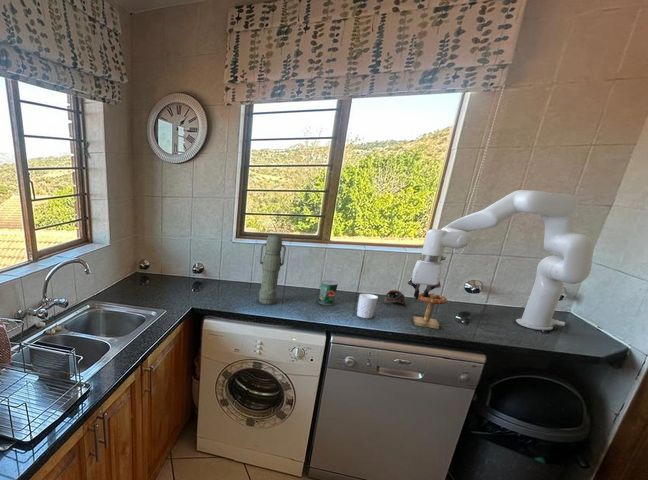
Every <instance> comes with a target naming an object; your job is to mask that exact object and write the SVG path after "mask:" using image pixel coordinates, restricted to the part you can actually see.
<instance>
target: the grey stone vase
mask: <svg viewBox="0 0 648 480" xmlns="http://www.w3.org/2000/svg"><path fill="white" fill-rule="evenodd" d="M264 246H265V253H264V256H263V251H264ZM282 248H283V253H281V252H282ZM260 251H261V252H260V258H259V264H260V265H262V267H261V268H262V276H261V285H260V288H259V292H258V303H260V304H263V305H276V304H277V303H276V302H277V301H276V300H277V297H278V289H277V288H278V281H279V280H278V279H279V272H280V271H281V267H282V266H284V264H285V257H286V251H287V247H286V245H285V244H283V238H282V235H281V234H278V233H271V234H268V236H267V238H266V243H263V244H262V245H261V250H260ZM281 255H282V257H281Z"/></svg>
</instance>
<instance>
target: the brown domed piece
mask: <svg viewBox="0 0 648 480" xmlns="http://www.w3.org/2000/svg"><path fill="white" fill-rule="evenodd" d="M383 302H384V304H385V305H386V304H388V303H389V304H393V303H402V304H403V306H405V305H406V299H405V295H404V294H403V293H402V292H401V291H400V290H397V289H391V290H389V291H387V292H386V293H385V297H384V300H383Z"/></svg>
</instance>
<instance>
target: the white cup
mask: <svg viewBox="0 0 648 480" xmlns="http://www.w3.org/2000/svg"><path fill="white" fill-rule="evenodd" d="M378 300H379V296H378V295H375V294H371V293H360V294H359V295H358V300H357V308H356V316H357V317H358V318H363V319H372V318H373V316H374V313H375V310H376V306H377V303H378Z"/></svg>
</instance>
